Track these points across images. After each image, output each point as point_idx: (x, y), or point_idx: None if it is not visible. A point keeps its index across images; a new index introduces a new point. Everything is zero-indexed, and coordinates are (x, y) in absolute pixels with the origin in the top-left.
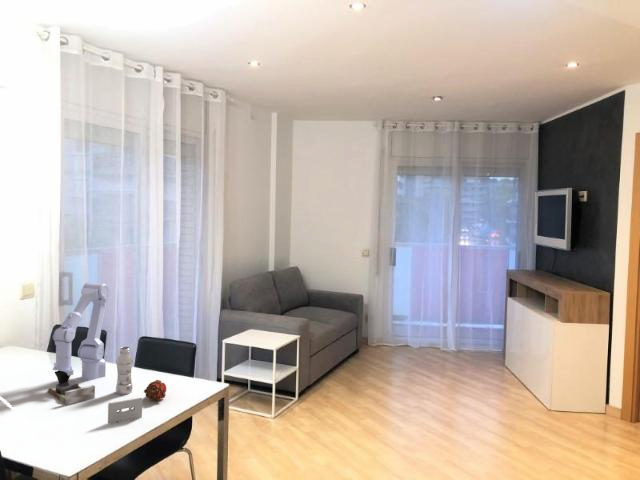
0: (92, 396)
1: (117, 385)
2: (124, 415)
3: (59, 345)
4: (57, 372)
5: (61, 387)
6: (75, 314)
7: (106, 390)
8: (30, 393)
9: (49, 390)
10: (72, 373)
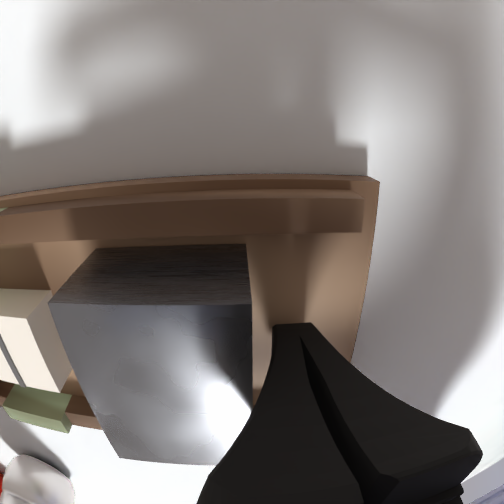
0: None
1: (13, 491)
2: None
3: None
4: (404, 492)
5: (50, 311)
6: None
7: (132, 470)
8: (468, 77)
9: (318, 195)
10: None
